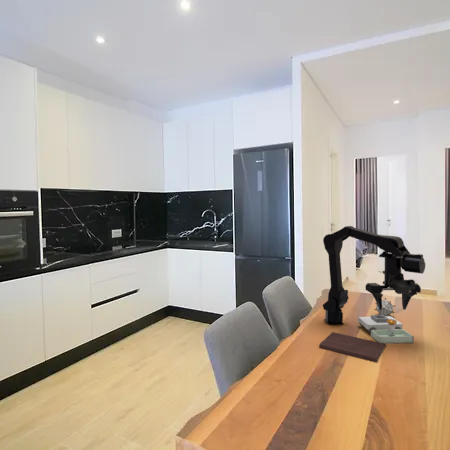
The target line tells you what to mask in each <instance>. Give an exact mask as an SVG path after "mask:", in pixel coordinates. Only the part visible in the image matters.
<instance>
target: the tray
mask: <svg viewBox="0 0 450 450" xmlns="http://www.w3.org/2000/svg"><path fill="white" fill-rule="evenodd" d="M370 337H371V338H372V339H373V340H375V342H380V343H384V344H414V340H415V339H414V335H413V334H411V333H410V332H408V331H407V330H406V329H403V328H402V329H395V336H388V329H377V330H371V334H370Z"/></svg>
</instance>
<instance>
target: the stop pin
mask: <svg viewBox="0 0 450 450" xmlns="http://www.w3.org/2000/svg"><path fill="white" fill-rule="evenodd" d="M396 320H397V319H396ZM396 320H393V319H387V323H388V329H387V330H388V336H395V324H397V321H398V320H397V321H396Z"/></svg>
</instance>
